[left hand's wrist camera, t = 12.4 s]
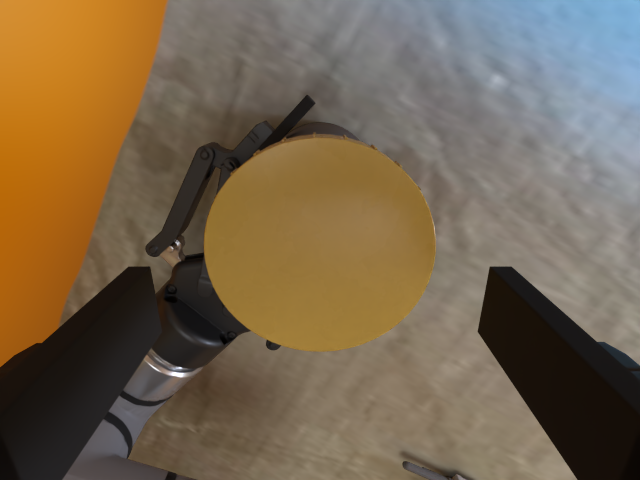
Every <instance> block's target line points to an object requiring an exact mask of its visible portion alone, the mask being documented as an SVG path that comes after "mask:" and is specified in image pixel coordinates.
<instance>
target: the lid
mask: <svg viewBox="0 0 640 480" xmlns="http://www.w3.org/2000/svg"><path fill="white" fill-rule="evenodd" d="M253 155H254V156H253V157H251V158H250V159H249V160H247V161H246V162H245V163H244V164H243V165H241V166H240V167H239V168H236V169H235V170H234V171H233V172H232V173H231V174H230V175H231V176H230V177H229V178H228V180H227V181H226V182H225V184H224V185H223V186H222V188H221V189H220V191H219V192H218V194H217V195H216V196H215V198H214V199H215V200H214V202H213V204H212V206H211V209H210V212H209V215H208V218H207V222H206V227H205V232H204V255H205V263H206V267H207V271H208V275H209V277H210V280H211V282H212V285H213V287H214V289H215V291H216V293H217V295H218V296H219V298H220V300H221V301H222V303H223V304H224V305H225V307H226V308H227V309H228V311H229V312H230V313H231V314H232V315H233V316H234V317H235V318H236V319H237V320H238V321H239V322H241V323H242V324H243V325H244V326H245V327H247V328H248V329H249V330H251V331H252V332H254V333H256V334H257V335H259V336H261V337H263V338H265V339H267V340H269V341H271V342H273V343H276V344H279V345H282V346H285V347H289V348H293V349H297V350H305V351H323V352H324V351H336V350H342V349H347V348H351V347H355V346H358V345H361V344H364V343H366V342H369V341H371V340H373V339H375V338H377V337H379V336H381V335H382V334H384V333H386V332H388V331H389V330H390V329H392V328H393V327H394V326H396V325H397V324H398V323H399V322H400V321H401V320H402V319H404V318H405V317H406V316H407V315H408V314H409V312H410V311H411V310H412V309H413V308H414V306H415V305H416V304H417V302H418V301H419V299H420V298H421V296H422V294H423V293H424V291H425V289H426V286H427V284H428V282H429V280H430V276H431V273H432V270H433V266H434V260H435V254H436V236H435V229H434V223H433V219H432V215H431V212H430V209H429V207H428V205H427V203H426V200H425V198H424V196H423V195H422V193H421V191H420V190H421V189H420V188H419V187H418V186H417V185H416V184H415V183H414V181H413V180H412V179H411V178H410V177H409V176H408V174H407V173H406V172H405V171H404V170H403V169H401V168H402V166H401V165H400V164H399V163H398V162H396V161H395V162H393V161H392V160H391V159H390V158H389V157H388V156H386V155H385V154H383V153H382V152H380V151H378V150H377V148H376V147H375V146H374V145H371V146H369V145H367V144H365V143H363V142H361V141H357V140H354V139H351V138H348V137H347V136H346V135H343V136H337V135H331V134H316V132H313V134H311V135H302V136H297V137H293V138H289V139H286V137H285V138H283V139H282V140H281V141H280V142H277V143H275V144H272V145H270V146H268V147H266V148H265V149H263V150H261V151H260V150H257V151H256V152H255V153H254V154H253Z"/></svg>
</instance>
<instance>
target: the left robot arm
mask: <svg viewBox="0 0 640 480" xmlns="http://www.w3.org/2000/svg"><path fill="white" fill-rule="evenodd" d="M161 333H162V328H161V322H160V317H159V312H158V306H157V301H156V296H155V290H154V285H153V279H152V274H151V269H150V267H128V268H127V269H125V270H124V271H123V272H122V273H121V274H120V275H119V276H117V277H116V278H115V279H114V280H113V281H112V282H111V283H109V284H108V285H107V286H106V287H105V288H104V289H103V290H102V291H100V292H99V293H98V294H97V295H96V296H95V297H94V298H92V299H91V300H90V301H89V302H88V303H87V304H86V305H85V306H83V307H82V308H81V309H80V310H79V311H78V312H77V313H75V314H74V315H73V316H72V317H71V318H70V319H69V320H67V321H66V322H65V323H64V324H63V325H62V326H61V327H60V328H58V329H57V330H56V331H55V332H54V333H53V334H52V335H50V336H49V337H48V338H47V339H46V340H45V341H44V342H43V343H36V344H34V345H32V346H31V347H29V348H27V349H25V350H23V351H22V352H20V353H18V354H16V355H14V356H13V357H12V358H11V359H10V360H9V361H7V362H6V363H5V364H4V365H3V366H1V367H0V480H63V478H64V477H65V475H66V474H67V472H68V471H69V469H70V468H71V466H72V465H73V463H74V462H75V460H76V459H77V457H78V456H79V454H80V453H81V451H82V450H83V448H84V447H85V445H86V444H87V442H88V441H89V440H90V438H91V437H92V435H93V434H94V432H95V431H96V429H97V428H98V426H99V425H100V423H101V422H102V420H103V419H104V417H105V416H106V414H107V413H108V411H109V410H110V408H111V407H112V405H113V404H114V402H115V401H116V400H117V398H118V397H119V395H120V394H121V392H122V391H123V389H124V388H125V386H126V385H127V383H128V382H129V380H130V379H131V377H132V376H133V374H134V373H135V371H136V370H137V368H138V367H139V365H140V364H141V362H142V361H143V360H144V358H145V357H146V355H147V354H148V352H149V351H150V349H151V348H152V346H153V345H154V343H155V342H156V340H157V339H158V337H159V336H160V334H161ZM478 333H479V334H480V336H481V337H482V339H483V340H484V342H485V343H486V345H487V346H488V348H489V349H490V351H491V352H492V354H493V355H494V357H495V358H496V360H497V361H498V362H499V364H500V365H501V367H502V368H503V370H504V371H505V373H506V374H507V376H508V377H509V379H510V380H511V382H512V383H513V385H514V386H515V388H516V389H517V391H518V392H519V394H520V395H521V397H522V398H523V400H524V401H525V402H526V404H527V405H528V407H529V408H530V410H531V411H532V413H533V414H534V416H535V417H536V419H537V420H538V422H539V423H540V425H541V426H542V428H543V429H544V431H545V432H546V434H547V435H548V437H549V438H550V440H551V441H552V442H553V444H554V445H555V447H556V448H557V450H558V451H559V453H560V454H561V456H562V457H563V459H564V460H565V462H566V463H567V465H568V466H569V468H570V469H571V471H572V472H573V474H574V475H575V477H576V478H577V480H640V366H639V365H638V364H637V363H636V362H635V361H634V360H632V359H631V358H630V357H629V356H628V355H626V354H625V353H623V352H621V351H619V350H617V349H616V348H614V347H612V346H610V345H608V344H607V343H605V342H596V341H595V340H594V339H593V338H592V337H591V336H590V335H588V334H587V333H586V332H585V331H584V330H583V329H582V328H580V327H579V326H578V325H577V324H576V323H575V322H574V321H573V320H571V319H570V318H569V317H568V316H567V315H566V314H565V313H563V312H562V311H561V310H560V309H559V308H558V307H557V306H555V305H554V304H553V303H552V302H551V301H550V300H549V299H548V298H546V297H545V296H544V295H543V294H542V293H541V292H540V291H538V290H537V289H536V288H535V287H534V286H533V285H532V284H531V283H529V282H528V281H527V280H526V279H525V278H524V277H523V276H521V275H520V274H519V273H518V272H517V271H516V270H515V269H513V268H512V267H490V269H489V274H488V279H487V285H486V290H485V295H484V301H483V306H482V312H481V317H480V322H479V328H478Z"/></svg>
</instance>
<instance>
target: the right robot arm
mask: <svg viewBox="0 0 640 480" xmlns="http://www.w3.org/2000/svg"><path fill="white" fill-rule="evenodd" d="M314 104H315V102H314V101H313V100H312V99H311V98H310V97H309V96H308V95H306V96H305V98H304V99H303V100H302V101H301V102H300V103H299V104H298V105H297V106H296V107H295V109H294V110H293V111H292V112H291V113H290V114H289V115H288V116H287V117H286V118H285V119H284V121H283V122H282V123H281V124H280V125H279V126H278V127H277V128H276V129H274V128H273V127H272V126H271V125H270V124H269V123H268V122H267V121H264V122H262V123H259V124H257V125H256V126H255V127H254V128H253V129H252V130H251V132H250V133H249V134H248V135H247V136H246V137H245V138H244V139H243V140H242V142H241V143H240V144H239V145H238V146H237V147H236V148H235V149H234V150H228V149H226V148H223V147H221V146H220V145H219V144H218V143H215V142H211V143H209V144H206V145H204V146H201V147H200V148H198V150H197V151H196V154H195V156H194V158H193V161H192V163H191V165H190V167H189V170H188V172H187V174H186V176H185V179H184V181H183V183H182V186H181V188H180V190H179V192H178V195H177V197H176V199H175V202H174V204H173V206H172V208H171V211H170V213H169V215H168V218H167V220H166V222H165V224H164V227H163V229H162V231H161V232H160V233H159V234H158V235H157V236H156V237H155V238H154V239H152V240H151V241H150V242H149V243H148V244H147V245H146V249H145V250H146V252H147V254H148V255H150V256H152V257H157V256H159V255H160V256H161V257H162V258H163V259H165V260H166V261H167V262H168V263H169V264H170V265H171V266H172V267H173V270H172V276H171V279H170V280H169V281H168V282H167V283H166V284H165V285H164V286H163V287H162V288H161V289H160V290H159V291H158V292H157V293H156V294H155V296H156V301H157V306H158V312H159V317H160V322H161V328H162V333H161V334H160V336H159V337H158V339H157V340H156V342H155V343H154V345H153V346H152V348H151V349H150V351H149V352H148V354H147V355H146V357H145V358H144V360H143V361H142V362H141V364H140V365H139V367H138V368H137V370H136V371H135V373H134V374H133V376H132V377H131V379H130V380H129V382H128V383H127V385H126V386H125V388H124V389H123V391H122V392H121V394H120V395H119V397H118V398H117V400H116V401H115V402H114V404H113V405H112V407H111V408H110V410H109V411H108V413H107V414H106V416H105V417H104V419H103V420H102V422H101V423H100V425H99V426H98V428H97V429H96V431H95V432H94V434H93V435H92V437H91V438H90V440H89V441H88V442H87V444H86V445H85V447H84V448H83V450H82V451H81V453H80V454H79V456H78V457H77V459H76V460H75V462H74V463H73V465H72V466H71V468H70V469H69V471H68V472H67V474H66V475H65V477H64V478H63V480H196V479H192V478H188V477H184V476H180V475H177V474H176V473H173V472H169V471H166V470H163V469H159V468H156V467H152V466H149V465H146V464H142V463H139V462H135V461H132V460H128V457H129V455H130V453H131V450H132V447H133V445H134V444H135V442H136V440H137V438H138V436H139V434H140V432H141V431H142V429H143V427H144V425H145V423H146V422H147V421H148V419H149V418H150V417H151V416H152V414H153V413H155V412H156V411H157V410H158V409H159V408H160V407H161V406H162V405H163V404H164V403H165V402H166V401H167V400H168V399H169V398H171V397H172V396H173V395H174V394H175V393H176V392H177V391H178V390H179V389H180V388H182V387H183V386H184V385H185V384H186V383H187V382H188V381H189V380H191V379H192V378H193V377H194V376H195V375H196V374H197V373H198V372H199V371H201V370H202V369H203V367H204V366H205V365H207V364H208V363H209V362H210V361H211V360H212V359H214V358H215V357H216V356H217V355H218V354H219V353H220V352H221V351H222V350H223V349H225V348H226V347H227V346H228V345H229V344H230V343H231V342H232V341H233V340H234V339H235V338H236V337H237V336H238V335H240V334H242V333H245V332H249V331H251V330H249V329H248V328H247V327H245V326H244V325H243V324H242V323H241V322H239V321H238V320H237V319H236V318H235V317H234V316H233V315H232V314H231V313H230V312H229V311H228V309H227V308H226V307H225V305H224V304H223V303H222V301H221V300H220V298H219V296H218V295H217V293H216V291H215V289H214V287H213V285H212V282H211V280H210V277H209V275H208V271H207V267H206V263H205V255H204V253H200V254H193V255H187V256H185V255H184V254H183V251H182V249H183V247H184V245H185V240H184V237H183V236H182V235H181V234H182V233H183V232H184V231H185V230H186V228H187V227H188V225H189V223H190V221H191V219H192V217H193V214H194V212H195V210H196V208H197V206H198V204H199V201H200V199H201V197H202V195H203V193H204V191H205V189H206V186H207V184H208V182H209V180H210V178H211V176H212V173H213V171H214V169H215V167H218V168H220V169H221V173H220V178H219V184H218V189H217V194H218V192H219V191H220V189H221V188H222V186H223V185H224V184H225V182H226V181H227V180H228V178H229V177H230V176H231V175H230V174H231V173H232V172H233V171H234V170H235V169H236V168H239V167H240V166H241V165H243V164H244V163H245V162H246V161H247V160H249V159H250V158H251V157H253V156H254V155H253V154H254V153H255V152H256V151H257V150H260V151H261V150H263V149H265V148H266V147H268V146H270V145H272V144H275V143H277V142H280V141H281V140H282V139H283V138H284V136H285V135H286V134H287V133H288V132H289V131H290V130H291V129H292V128H293V127H294V126H295V125H296V124H297V122H298V121H299V120H300V119H301V118H302V117H303V116H304V115H305V114H306V113H307V112H308V111H309V110H310V108H311V107H312V106H313V105H314ZM217 194H216V195H217ZM266 346H267V348H268V349H270V350H277V349H278V348H279V347H280V346H281V345H279V344H276V343H273V342H271V341H269V340H267V342H266Z"/></svg>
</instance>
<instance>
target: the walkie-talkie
mask: <svg viewBox="0 0 640 480" xmlns="http://www.w3.org/2000/svg"><path fill="white" fill-rule="evenodd" d="M403 467H404V469H406V470H409V471H411V472H413V473H415V474H418V475H420V476H422V477H425V478H427V479H429V480H466V479H464V478H462V477H461V476H460V475H457V474H456V475H455V476H454V477H452V478H449V477H444V476H442V475H440V474H438V473H435V472H433V471H431V470H428V469H426V468H424V467H422V468H421V467H419V466H417V465H414V464H412V463H410V462H406V461H404V462H403Z"/></svg>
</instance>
